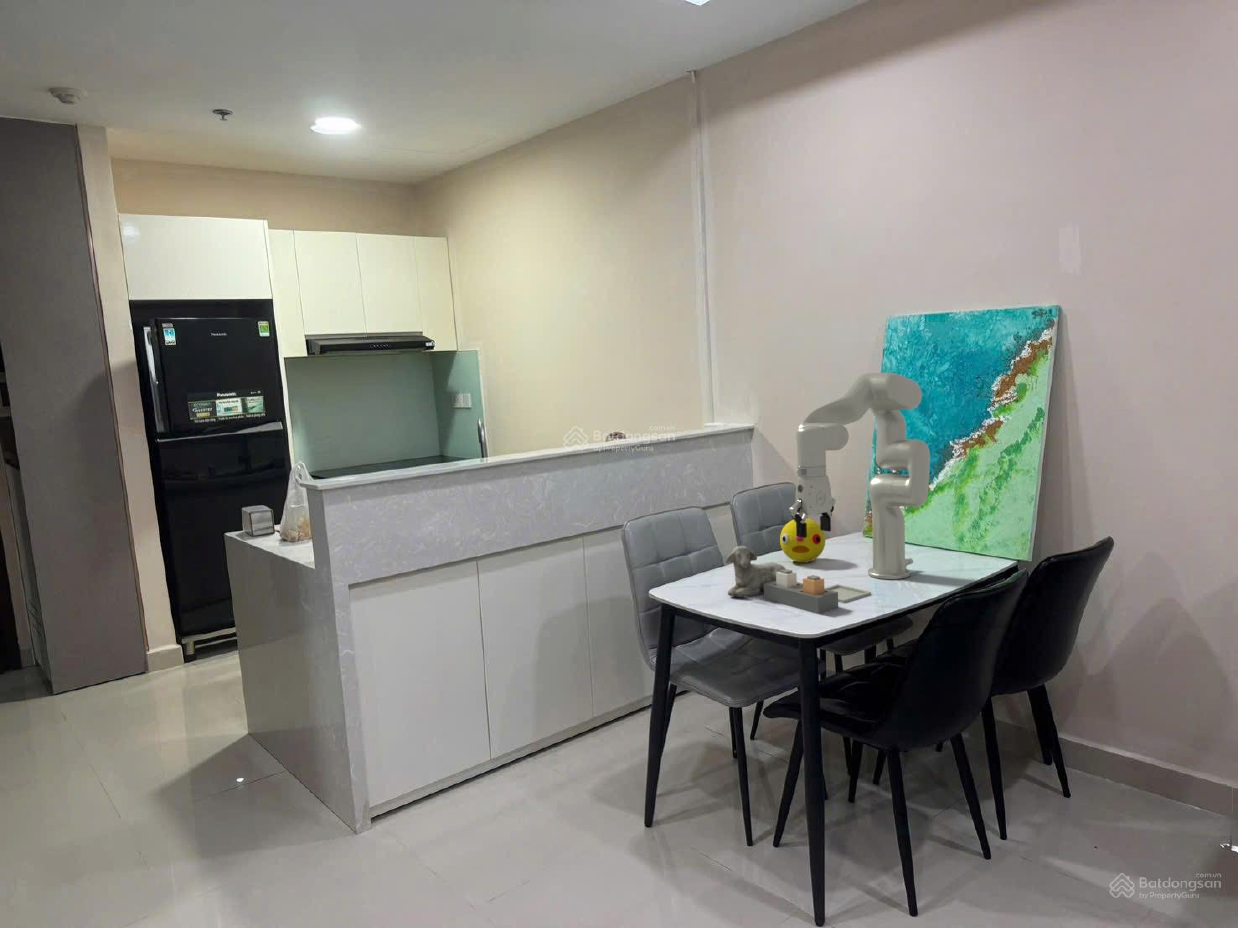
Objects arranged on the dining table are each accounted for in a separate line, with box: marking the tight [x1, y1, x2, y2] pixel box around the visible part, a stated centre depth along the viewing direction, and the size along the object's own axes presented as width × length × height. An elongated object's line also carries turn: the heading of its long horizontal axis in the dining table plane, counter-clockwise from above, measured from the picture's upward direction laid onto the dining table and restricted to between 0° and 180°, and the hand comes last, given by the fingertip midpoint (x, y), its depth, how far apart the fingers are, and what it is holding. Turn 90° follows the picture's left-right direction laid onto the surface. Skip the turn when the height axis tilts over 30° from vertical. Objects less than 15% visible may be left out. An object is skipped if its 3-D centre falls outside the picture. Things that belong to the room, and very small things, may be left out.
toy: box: [779, 517, 826, 563], centre depth 275 cm, size 15×16×15 cm
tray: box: [824, 583, 872, 604], centre depth 235 cm, size 12×12×1 cm
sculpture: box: [724, 545, 786, 598], centre depth 242 cm, size 11×21×15 cm, turn 126°
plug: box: [802, 574, 825, 595], centre depth 224 cm, size 4×4×8 cm
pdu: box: [763, 568, 839, 615], centre depth 228 cm, size 8×20×9 cm, turn 35°
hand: (813, 533), depth 224 cm, fingers open, 9 cm apart
